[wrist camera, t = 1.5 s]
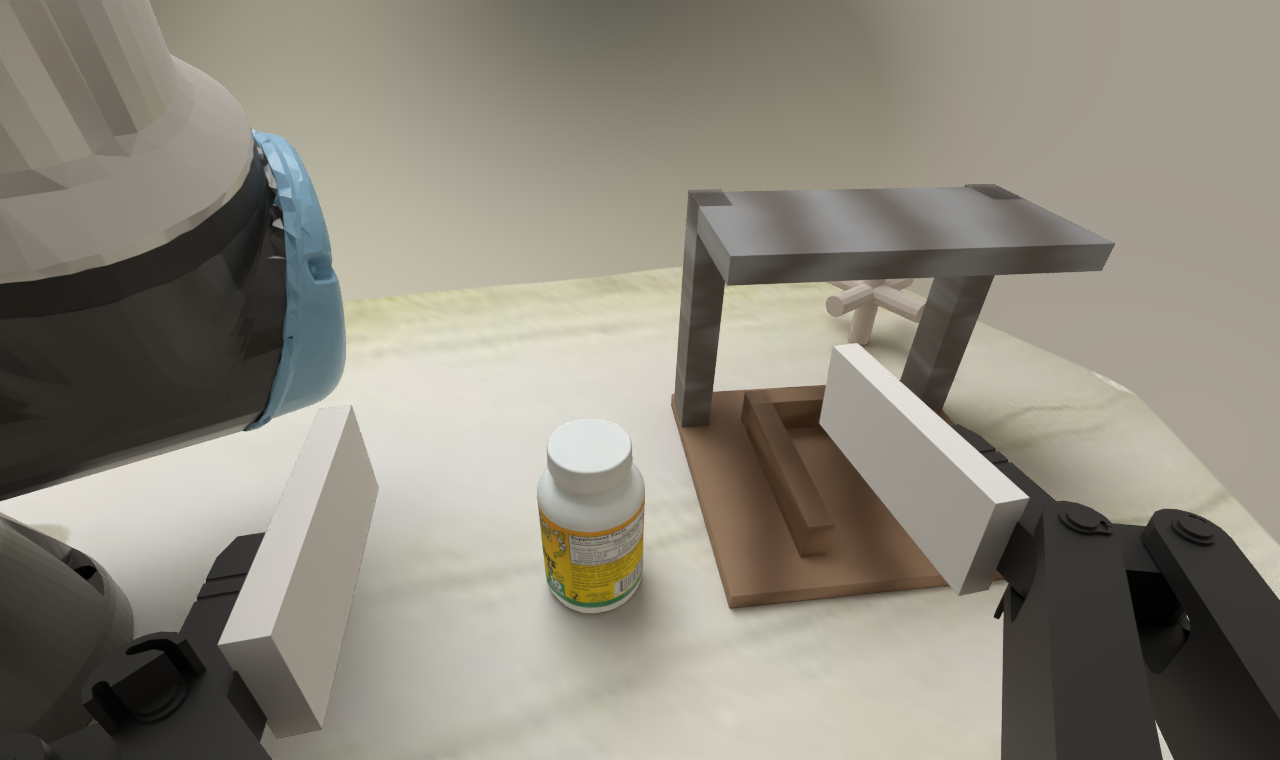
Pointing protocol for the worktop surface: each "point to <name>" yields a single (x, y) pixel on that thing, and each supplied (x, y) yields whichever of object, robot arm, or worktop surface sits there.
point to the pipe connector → (872, 303)
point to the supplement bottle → (591, 516)
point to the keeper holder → (789, 417)
